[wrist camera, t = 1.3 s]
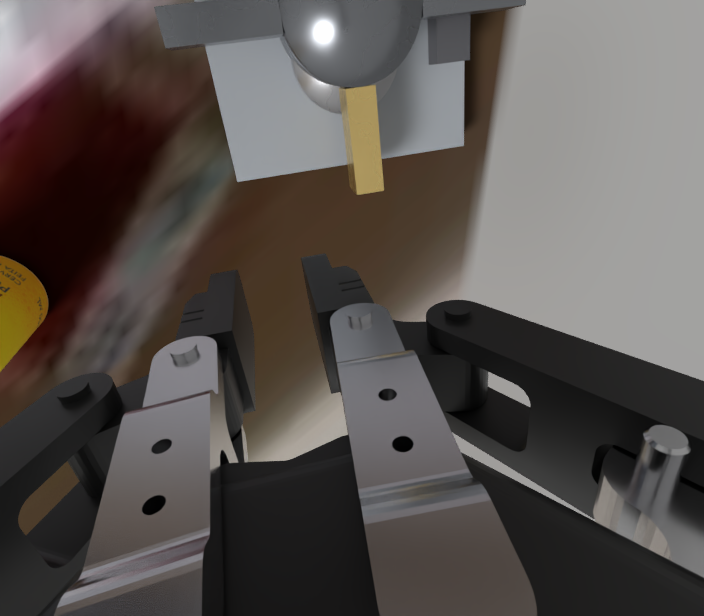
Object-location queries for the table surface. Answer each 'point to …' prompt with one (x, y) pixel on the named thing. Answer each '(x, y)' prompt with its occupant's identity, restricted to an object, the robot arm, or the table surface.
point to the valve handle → (327, 52)
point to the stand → (326, 127)
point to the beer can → (18, 307)
